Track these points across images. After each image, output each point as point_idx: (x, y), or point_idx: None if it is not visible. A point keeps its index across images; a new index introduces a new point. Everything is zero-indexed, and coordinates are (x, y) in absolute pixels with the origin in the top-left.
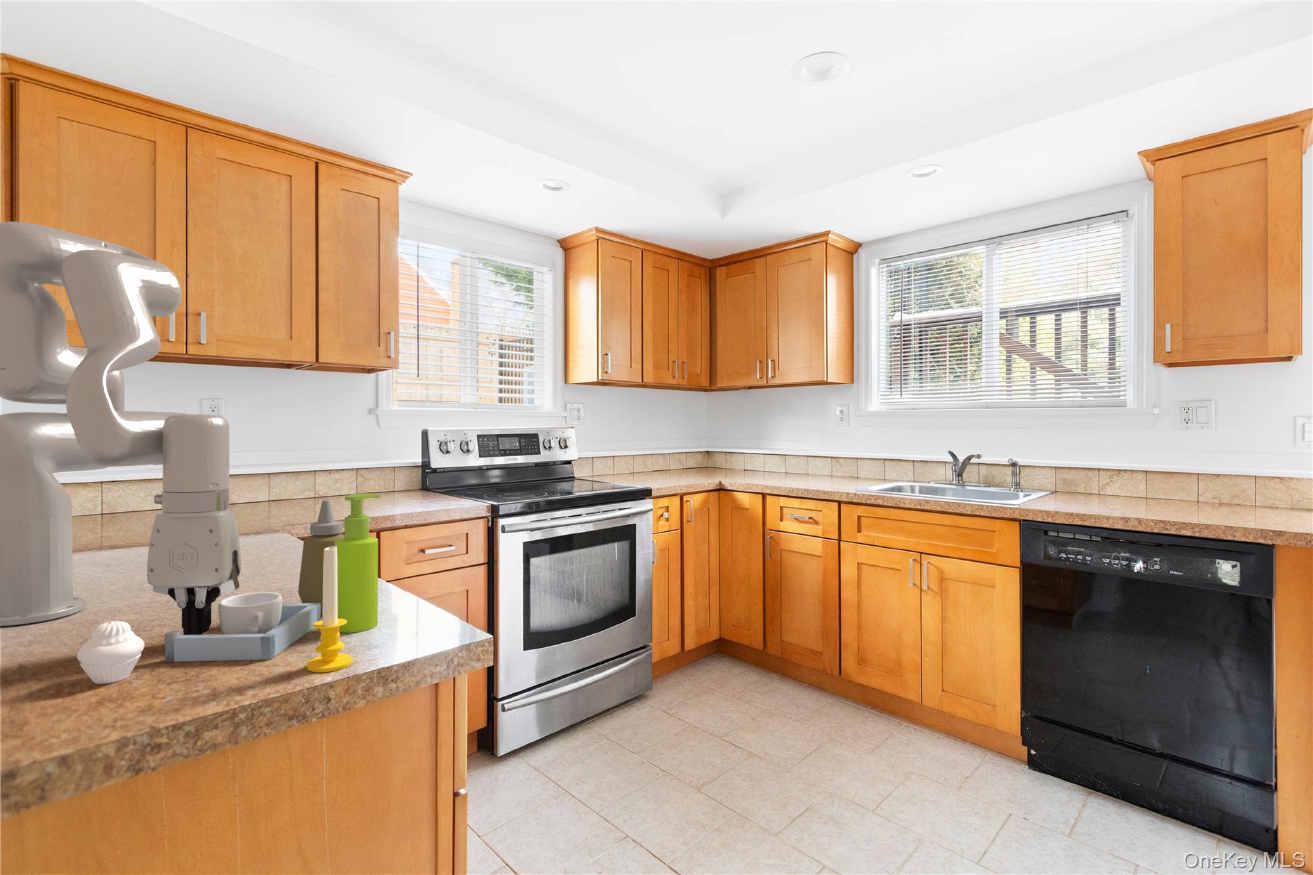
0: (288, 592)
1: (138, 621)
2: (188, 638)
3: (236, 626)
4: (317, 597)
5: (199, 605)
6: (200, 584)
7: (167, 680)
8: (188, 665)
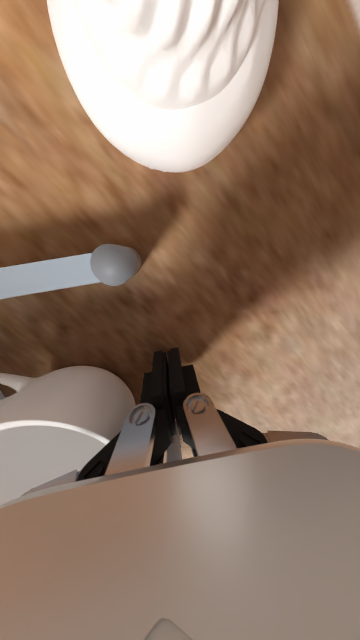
0: None
1: (327, 414)
2: (57, 259)
3: (52, 377)
4: None
5: (146, 411)
6: (66, 499)
7: (6, 113)
8: (61, 232)
